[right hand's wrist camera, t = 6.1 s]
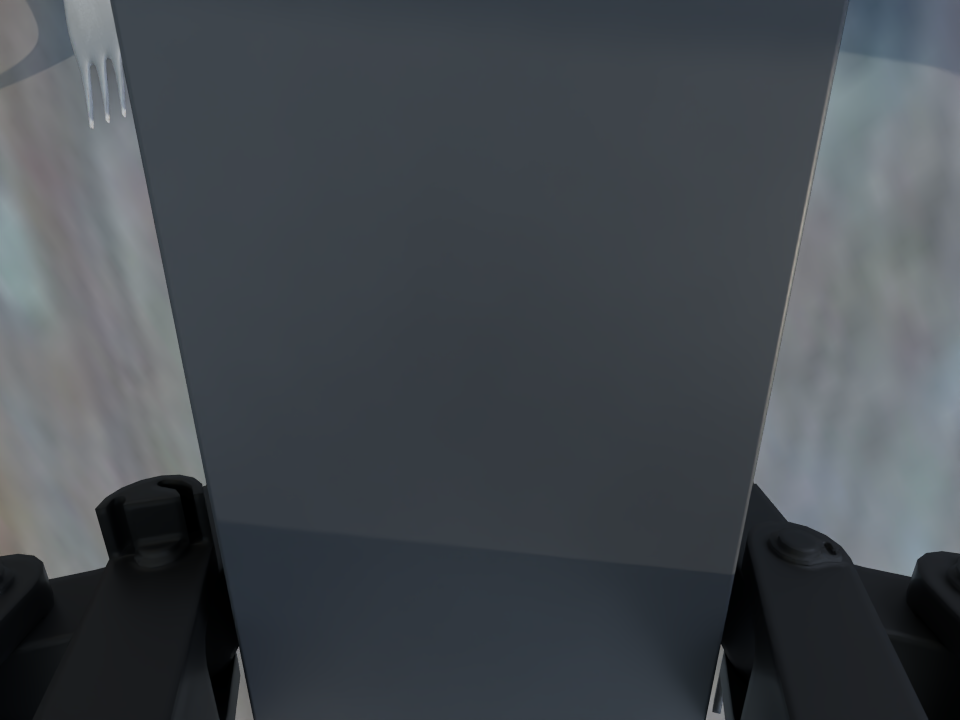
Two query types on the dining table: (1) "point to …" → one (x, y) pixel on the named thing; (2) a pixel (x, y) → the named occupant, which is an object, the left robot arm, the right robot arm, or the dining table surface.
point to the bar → (479, 331)
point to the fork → (95, 48)
